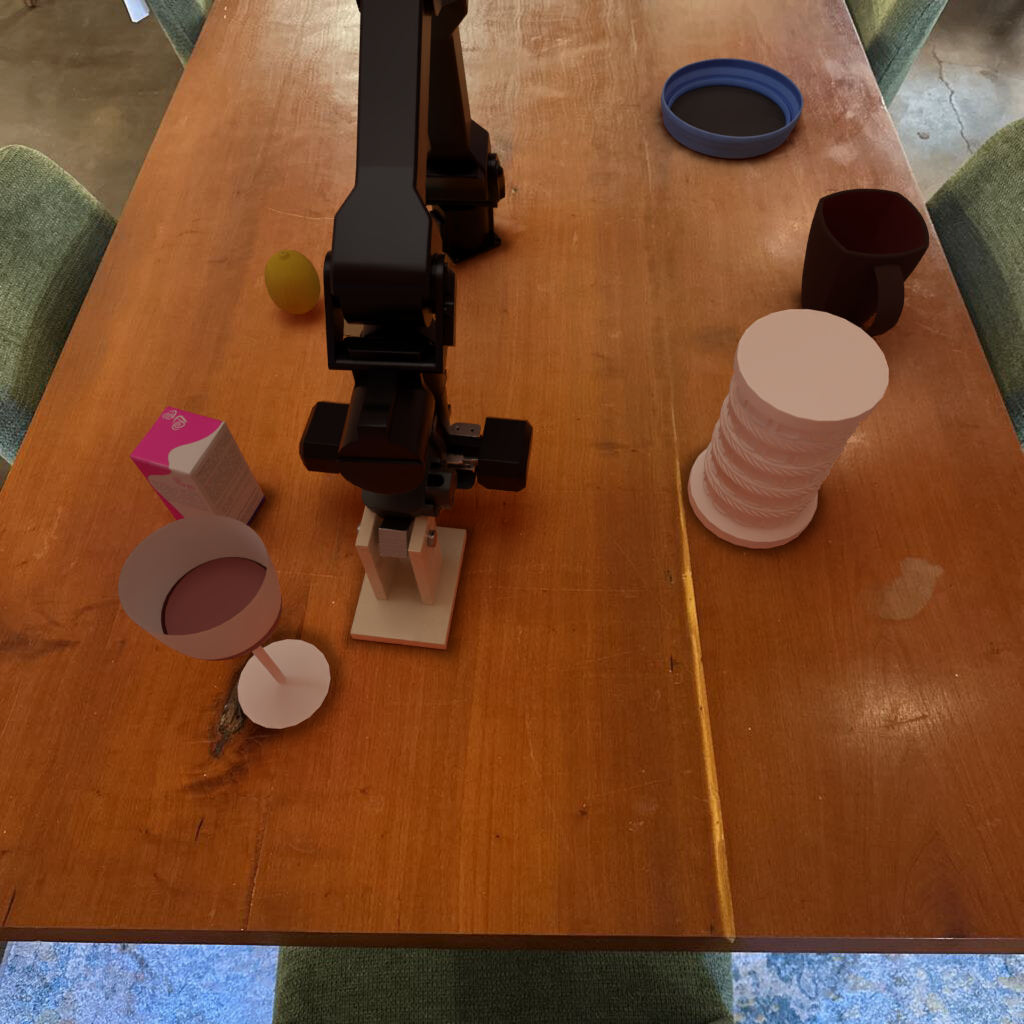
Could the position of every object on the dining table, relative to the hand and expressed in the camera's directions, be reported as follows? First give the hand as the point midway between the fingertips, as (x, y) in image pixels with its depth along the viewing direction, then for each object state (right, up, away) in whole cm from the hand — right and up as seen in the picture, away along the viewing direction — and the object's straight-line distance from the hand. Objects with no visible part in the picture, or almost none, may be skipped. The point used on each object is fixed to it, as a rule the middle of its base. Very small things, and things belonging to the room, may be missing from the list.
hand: (428, 501), depth 70 cm
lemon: (-15, +21, +14) cm, 30 cm away
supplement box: (-19, -1, +1) cm, 19 cm away
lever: (-1, -2, -6) cm, 6 cm away
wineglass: (-11, -15, -8) cm, 20 cm away
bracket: (-1, -7, -4) cm, 8 cm away
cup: (+42, +19, +12) cm, 48 cm away
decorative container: (+30, +1, +1) cm, 30 cm away
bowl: (+36, +51, +31) cm, 70 cm away
